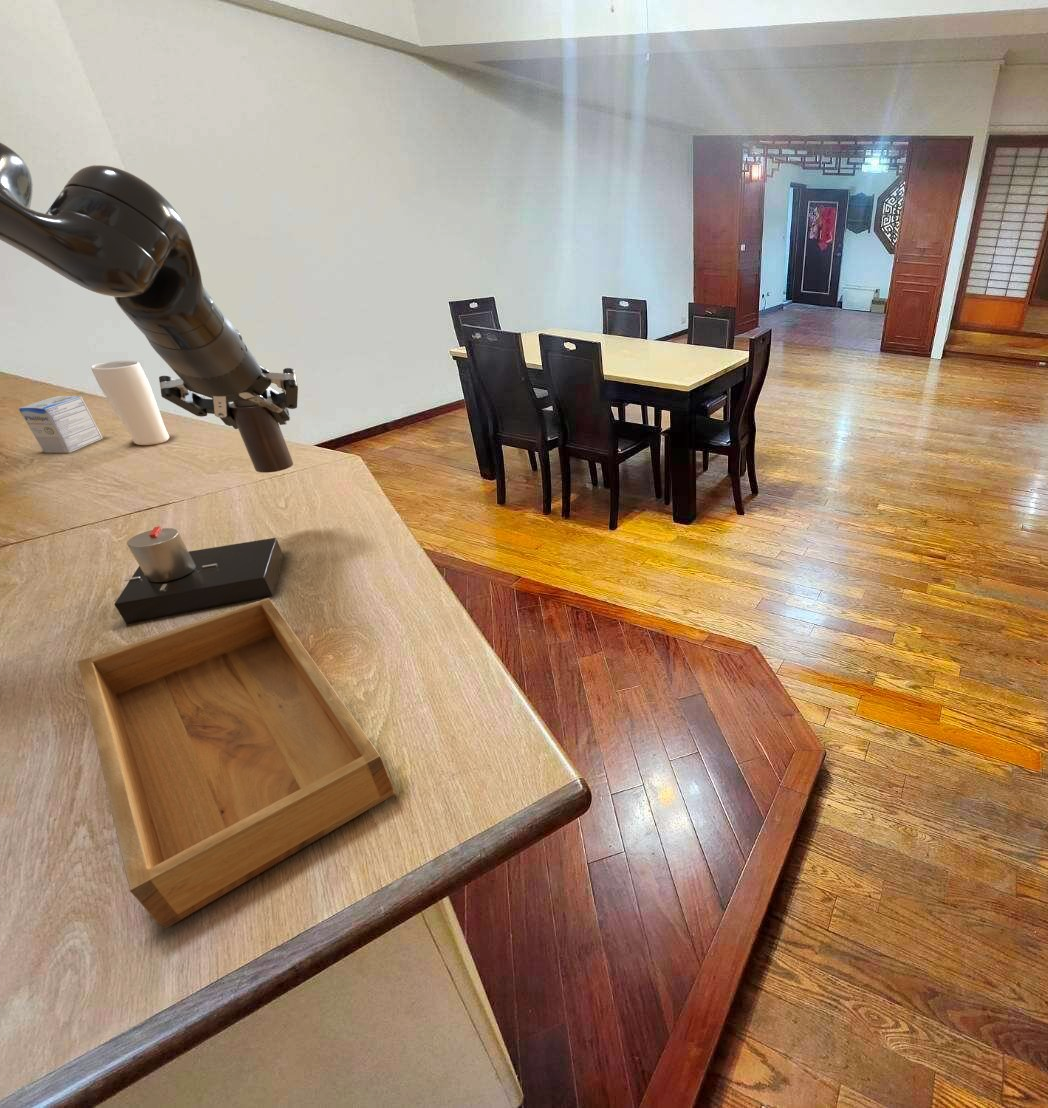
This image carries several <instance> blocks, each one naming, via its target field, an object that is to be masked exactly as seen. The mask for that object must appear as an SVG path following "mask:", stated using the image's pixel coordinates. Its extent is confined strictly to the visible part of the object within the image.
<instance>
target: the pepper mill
mask: <svg viewBox="0 0 1048 1108" xmlns="http://www.w3.org/2000/svg"><path fill="white" fill-rule="evenodd" d="M229 408H230V410H231V412H232V415H233V417H234V420H235V422H236V425H237V427H238V429H237V430H238V432H239V434H240V436H241V439H242V441H243V445H244V447H245V449H246V451H247V454H248V456H249V459H250V461H251V464H252V466H253V468H254V470H255V471H256V472H257V473H266V474H268V473H275V472H281V471H285V470H287V469H289V468H292V467H293V465H294V461H293V459H292V456H291V454H290V453H291V452H290V451H289V447H288V445H287V442H286V440H285V436H284V434H283V432H282V429H281V427H280V424H279V423H278V421H277V420H276V419H275V417H274V416H273V415H272V413H271V410H269V409H267V408H266V407H263V408H261V407H259V406H258V405H256V404H254V403H253V402H251V401H246V400H240V401H235V402H231V403H230V405H229Z"/></svg>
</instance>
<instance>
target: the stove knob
mask: <svg viewBox="0 0 1048 1108" xmlns="http://www.w3.org/2000/svg"><path fill="white" fill-rule="evenodd" d="M126 545H127V546H128V549H129V550H130V552H131V554H132V555H133V558H134V559H135V561H136V563H137V564H138V567H139V566H140V568H141V569H142V571H143V573H144V575H145V576H146V578H147V580H148V581H151V582H167V581H171V580H175V579H178V578H181V577H184V576H186V575H188V574H190V573H191V572H192V571H193V570H194V569H195V567H196V565H195V563H194V561H193V559H192V557H191V556H190V554H189V550H188V547H187V546H186V544H185V542H184V539H183V538H182V536H181V534H180V532H179V530H177V528H171V527H161V526H159V525H158V526H154V527H153V528H152V529H150V530H147V531H143V532H140V533H138V534H136V535H134V536H131V538H129V539H128V540H127V543H126Z"/></svg>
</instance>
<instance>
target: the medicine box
mask: <svg viewBox="0 0 1048 1108" xmlns="http://www.w3.org/2000/svg"><path fill="white" fill-rule="evenodd" d="M18 410H19V413H20V414H21V416H22V418H23V419H24V420H25V423H26V424H27V427H29V430H30V431H31V433H32V434H33V436H34V437H35V439H36V442H37V443H38V444H39V446H40V448H41V450H42V451H43V452H44V453H46V454H71V453H72V452H75V451H78V450H80V449H82V448H85V447H87V446H89V445H91V444H93V443H96V442H98V441H101V440H103V439H104V438H103V436H102V434H101V432H100V430H99V428H98V426H97V424H96V422H95V420H94V419H93V416H92V414H91V411H90V410H89V409H88V406H87V405H86V403H85V401H84V399H83V397H82V396H72V395H56V396H51V397H49V398H45V399H43V400H39V401H36V402H33V403H30V404H27V405H24V406H21V407H19V408H18Z"/></svg>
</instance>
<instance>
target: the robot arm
mask: <svg viewBox="0 0 1048 1108" xmlns="http://www.w3.org/2000/svg"><path fill="white" fill-rule="evenodd" d="M33 187H34V185H33V178H32V174H31V171H30V168H29V167H28V166H27V163H26V162H25V161H24V159H23V158H22V157H21V156H20V155H19V154H18V153H17V152H16V151H14V150H13V149H12V148H10V147H9V146H7V145H6V144H4V143H2V142H0V241H1V242H3V243H5V244H7V245H9V246H11V247H13V248H14V249H17V250H19V251H20V252H21V253H24V254H26V255H27V256H29V257H31V259H34V260H36V261H37V262H39V263H41V264H42V265H44V266H45V267H48V268H49V269H51V270H52V271H54V272H55V273H56V274H58V275H60V276H62V277H64V278H65V279H66V280H69V281H71V282H73V283H74V284H76V285H78V286H79V287H82V288H84V289H86V290H88V291H91V292H94V293H96V294H99V295H103V296H107V297H113V298H114V300H115V302H116V304H117V306H118V307H119V308H120V310H121V311H122V312H123V313H124V314H125V315H126V317H128V319H129V320H130V321H131V322H132V324H133V325H135V327H136V328H137V329H138V330H139V331H140V332H141V333H142V334H143V335H144V337H145V338H146V340H147V341H148V343H149V345H150V346H151V347H152V349H154V351H155V353H157V354H158V355H159V357H160V358H161V359H162V360H163V361H164V362H165V363H166V364H167V366H169V368H170V369H171V370H172V371H173V372H174V373H175V374H176V376H177V377H178V378H176V379H175V378H174V377H171V376H169V375H160V376H159V377H158V379H159V380H158V382H159V388H160V397H162V399H165V400H167V401H168V402H170V403H172V404H174V405H176V406H178V407H180V408H182V409H183V410H185V411H187V412H189V413H191V414H193V415H194V416H196V417H207V416H208V414H211V415H214V417H216V418H219V419H220V420H221V421H222V422H223V423H224V424H225V426H228V427H233V429H234V430H239V429H238V427H237V425H236V422H235V420H234V417H233V415H232V412H231V410H230V408H229V405H230V404H231V403H233V402H235V401H240V400H246V401H251V402H253V403H254V404H256V405H258V406H259V407H261V408H263V407H266V408H267V409H269V410H271V413H272V415H273V416H274V417H275V419H276V420H277V421H278V424H279V426H283V425H284V426H285V425H287V422H290V420H291V417H290V411H289V410H295V409H297V408H298V396H299V395H298V394H299V386H298V385H299V384H298V379H297V374H296V370H295V369H294V368H291V367H290V368H289V367H286V368H284V369H282V372H270V371H269V370H268V369H267V368H266V367H264V366H262V365H261V364H260V363H259V362H258V360H257V358H256V356H254V354H253V352H252V351H251V350H250V347H248V345H247V344H246V342H245V341H244V339H243V337H242V334H241V333H240V331H239V330H238V329H237V328H236V327H235V326H234V324H233V323H232V322H231V320H230V319H229V318H228V317H227V316H226V315H225V314H224V313H223V312H222V311H221V310H220V308H219V307H218V306H217V304H216V302H215V301H214V300H213V299H212V296H210V294H209V292H208V291H207V290H206V288H205V287H204V284H203V279H202V275H201V270H200V266H199V262H198V259H197V256H196V252H195V249H194V246H193V242H192V239H191V236H190V234H189V231H188V229H187V227H186V225H185V223H184V221H183V220H182V218H181V216H180V215H179V213H178V212H177V210H176V209H175V207H174V206H173V205H172V204H171V203H170V202H169V201H168V199H167V198H165V196H163V194H161V193H160V192H159V191H158V190H157V189H155V188H154V187H153V186H152V185H151V184H149V183H148V182H146V181H145V180H143V179H141V178H139V177H138V176H136V175H134V174H132V173H130V172H129V171H126V170H123V169H120V168H118V167H114V166H110V165H104V164H103V165H102V164H101V165H98V164H97V165H96V164H95V165H94V164H93V165H89V166H85V167H82V168H80V169H79V170H78V171H76V172H75V173H74V174H73V175H72V176H71V177H70V179H69V180H68V181H67V182H66V184H65V185H64V187H63V189H62V190H61V191H60V192H59V194H58V196H57V197H56V198H55V200H54V201H53V202H52V204H51V205H50V207H49V208H48V209H47V211H46V212H45V213H43V212H40V211H36V210H33V209H31V205H32V199H33V193H34V192H33V190H34V188H33ZM272 384H275V385H276V386H277V387H278V389H279V388H280V390H281V392H278V391H276V390H275V389H273V388H272V387H271V385H272ZM206 397H207V398H206Z"/></svg>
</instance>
